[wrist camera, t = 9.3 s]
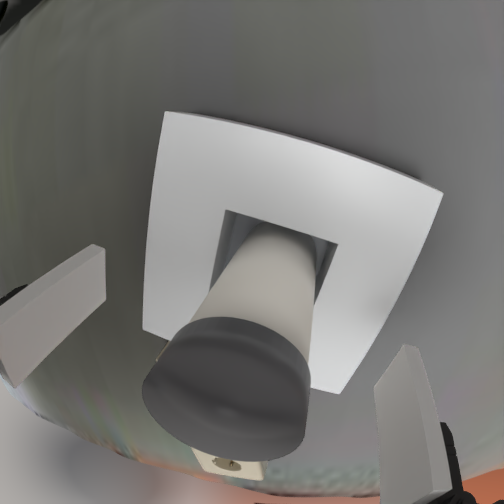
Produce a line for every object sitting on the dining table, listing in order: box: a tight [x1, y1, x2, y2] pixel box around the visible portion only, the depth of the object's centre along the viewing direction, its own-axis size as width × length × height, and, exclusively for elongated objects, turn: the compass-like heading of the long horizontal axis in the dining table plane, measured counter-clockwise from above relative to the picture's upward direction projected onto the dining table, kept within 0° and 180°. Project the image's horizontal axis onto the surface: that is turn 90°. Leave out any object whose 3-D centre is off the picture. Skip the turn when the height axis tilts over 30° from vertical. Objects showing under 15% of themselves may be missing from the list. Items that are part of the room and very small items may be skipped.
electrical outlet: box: [156, 341, 268, 480], centre depth 25 cm, size 7×4×18 cm
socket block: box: [143, 111, 443, 394], centre depth 17 cm, size 14×14×4 cm
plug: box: [142, 221, 317, 462], centre depth 13 cm, size 5×5×12 cm
